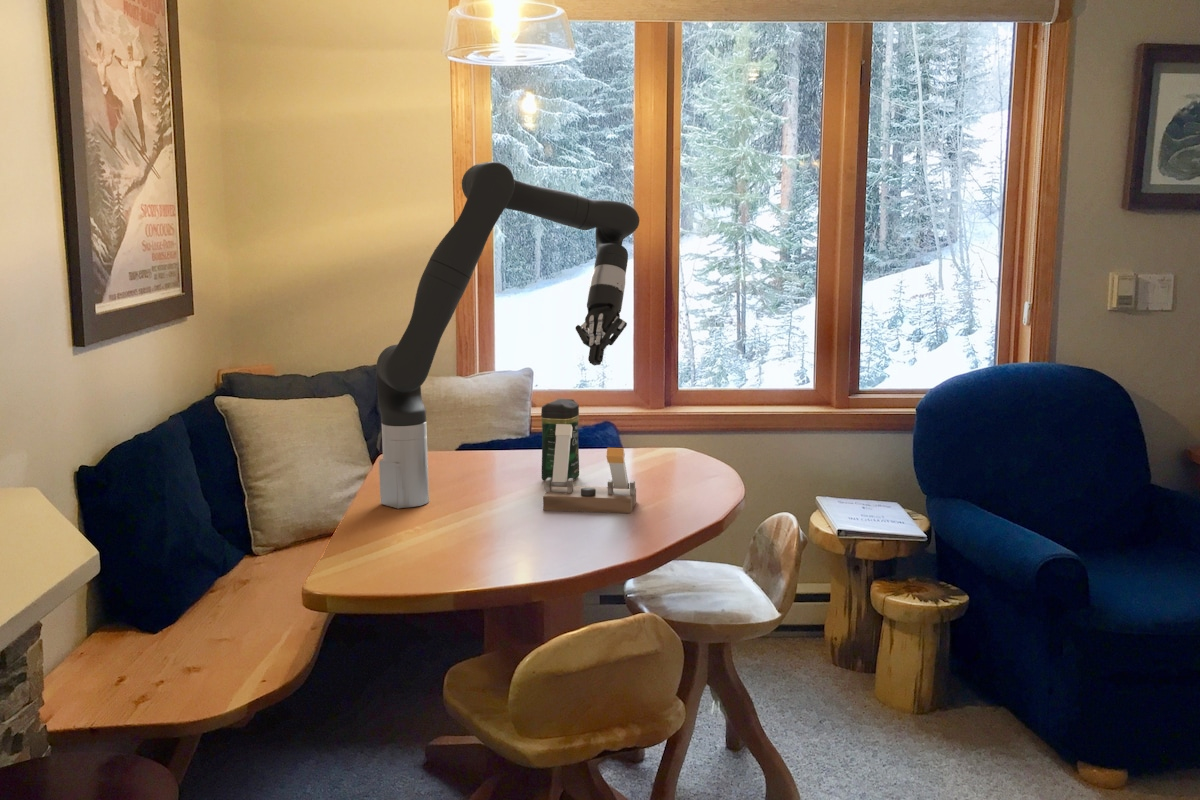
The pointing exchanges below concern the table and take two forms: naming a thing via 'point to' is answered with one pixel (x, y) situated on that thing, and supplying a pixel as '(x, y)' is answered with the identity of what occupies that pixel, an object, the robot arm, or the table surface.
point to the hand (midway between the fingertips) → (594, 363)
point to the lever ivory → (561, 455)
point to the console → (589, 498)
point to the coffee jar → (550, 416)
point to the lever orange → (617, 468)
